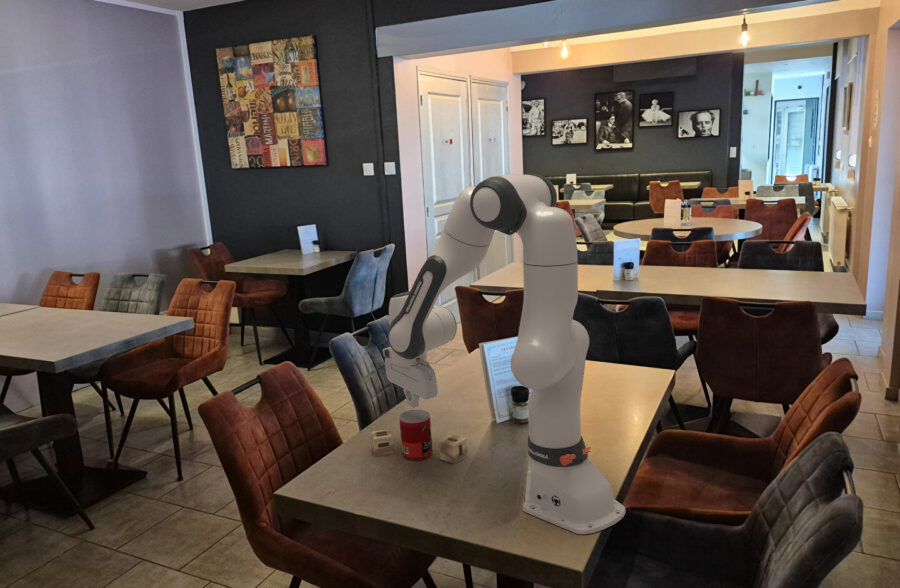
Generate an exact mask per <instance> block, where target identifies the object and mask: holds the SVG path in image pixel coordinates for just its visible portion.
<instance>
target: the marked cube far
mask: <svg viewBox="0 0 900 588" xmlns="http://www.w3.org/2000/svg"><path fill="white" fill-rule="evenodd" d="M370 435H371V445H372V452H373V455H374V457H380V456H387V455H394V453H395V451H394V442H393V439H394V438H393V435H392V432H391V430H390V428H387V429H380V430H375V431H371V432H370Z"/></svg>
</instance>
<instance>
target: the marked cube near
mask: <svg viewBox="0 0 900 588" xmlns="http://www.w3.org/2000/svg"><path fill="white" fill-rule="evenodd" d="M467 442H468V441H467V438H466V437H462V436H459V435H455V434H450V435H447V436H445V437H444V438H441V439H440V440H438V447H439V448H438V450H439V459H440V460H442V461H445V462H448V463H450V464H454V465H456V464H457V463H459V462H461V461H462V460H464V459H465V458H468V445H467Z"/></svg>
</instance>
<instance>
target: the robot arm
mask: <svg viewBox="0 0 900 588" xmlns="http://www.w3.org/2000/svg"><path fill="white" fill-rule="evenodd" d="M557 203H558V194H557V190H556V187H555V186H554V184H553V183H552V181H551V180H549V179H548V178H546V177H545V176H543V175H540V174H535V173H529V174H527V173H526V174H522V173H509V174H503V175H499V176H498V175H497V176H490V177H488V178H486V179H484V180H482V181H480V182H478V184H477V185H473V186H468V187H465V188H464V189H462V190H461V192H460V193H459V194H458V195H457V197H456V199H455V201H454V202H453V205H452V206H451V208H450V211H449V213H448V216H447V218H446V221H445V223H444V226H443V228H442V231H441V234H440V237H438V238H439V239H438V241H437V242H436V244H435V247H434V248H433V250H432V251H431V253H430V255H429V257H428V258H427V259H426V260H425V262H424V263H423V265H422V267H421V268H420V269H419V272H418V274H417V276H416V278H415V280H414V282H413V285H412V286H411V288H410V291H409V290H408V291H406V292H401V293H397V294H395V295H393V296H392V297H391V298H390V300H389V306H388V323H389V326H388V329H387V330H388V331H387V340H388V344H389V347H386V348H383V349H382V354H383V357H385V358H384V366H385V367H384V368H385V374H386V377H387V380H388V381H389V382H390V383H392V384H394V385H396V386H398V387H400V388H402V389H403V393H404V396H405V399H406V404H407V405H408V406H410V407H412V408H414V409H415V408H418V407H419V404H420V403H419V400H420V398H421V399H424V400H429V399H433V398H436V397H437V396H438V394H439V391H438V390H439V388H438V384H437V377H436V372H435V369H434V368H433V367H432V366H431V365H430V362H429V361H427V359H428V356H427V355H428V353H427V352H429V351H433V350H434V349H437V348H439V347H441V346H444V345H447V344H448V343H449V342H451V341H453V340H454V339H455V337H456V334H457V329H458V327H457V326H458V325H457V320H456V318H455V315H454V314H453V313H452V311H450V310H449V309H448V308H446V307H444V306H439V305H437V304H436V302H437V300H438V298H439V296H440V295H441V293H442V292H443V291H444V290H445V289H446V288H447V287H449V286H450V285H451V284H452V283H455V282H456V281H457V280H459V279H461V278H463V277H464V276H466V275H468V274H470V273H471V272H473V271H474V270H476V269H477V268H478V267H479V266H480V264H481V263H482V261H483V260H484V258H485V257H486V255H487V252H488V250H489V247H490V245H491V243H492V239H493V238H494V234H495V231H497V232H500V233H502V234H505V235H507V236H512V235H514V234H517V235H518V236H519V238H520V239H521V242H522V257H523V258H522V261H523V263H522V267H523V273H522V274H523V303H522V309H521V310H522V311H521V316H520V321H519V327H518V335H517V340H516V343H515V344H516V345H515V347H514V350H513V352H512V355H511V357H510V369H511V373H512V375H513V377H514V378H515V380H516V381H517V383H518V384H520V385H522V387H525V388H527V389H530V390H531V393H530V396H529V399H528V402H527V403H528V404H527V410H528V414H527V415H528V433H529V435H528V436H527V444H526V445H527V454H528V456H529V463H528V469H527V474H526V489H525V494H524V502H523V505H522V506H523V507H522V511H523V512H525V513H527V514H529V515H531V516H534V517H537V518H539V519H541V520H543V521H546V522H548V523H551V524H553V525H555V526H558V527H560V528H563V529H565V530H567V531H570V532H572V533H574V534H577V535H588V534H592V533H596V532H600V531H603V530H605V529H608V528H609V527H611V526H613V525H615V524H616V523H618V522H619V521H621V520H622V519H623V518H624V516H625V515H626V506H624V505H623V504H622V503H620V502H619V501H618V500H616V499H615V498H614V493H613V488H612V485H611V483H610V481H608V479H607V475H606V473H605V472H603V471H600V469H598V467H597V466H596V465H595V463H594V462H593V461H592V460H591V459H590V458H589V453H590V452H592V450H590V449H591V448H592V446H588V447H586V444H585V441H584V438H583V436H582V434H581V433H582V424H581V420H582V419H581V403H582V402H581V399H582V391H583V385H584V376H585V371H586V370H585V369H586V360H587V358H586V357H587V354H588V349H589V346H590V335H589V334H588V331H587V329H586V328H585V326H584V325H583V324H581V322H579V321H577V320H575V319H574V318H573V317H574V314H575V309H576V306H577V303H578V298H579V289H578V288H579V285H578V284H579V280H578V279H579V276H578V275H579V273H578V270H579V269H578V261H579V260H578V258H579V257H578V246H577V245H578V244H577V237H576V230H575V226H574V220H573V218H572V216H571V215H570V213H569V212H568V211H567V210H565V209H562V208H559V207H556V205H557Z"/></svg>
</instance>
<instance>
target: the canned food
mask: <svg viewBox="0 0 900 588" xmlns="http://www.w3.org/2000/svg"><path fill="white" fill-rule="evenodd" d="M431 427H432V425H431V414H430V412H429V411H426V410H424V409H423V410H422V409H410V410H406V411H403V412H401V413H400V415H399V430H400V439H401V440H400V441H401V449H402V450H401V451H402V452H401V453H402V455H403V457H404V458H405V459H407V460H410V461H424V460H425V459H429V458H430V457H431V456H432V455H433V441H432V440H433V439H432V428H431Z"/></svg>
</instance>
